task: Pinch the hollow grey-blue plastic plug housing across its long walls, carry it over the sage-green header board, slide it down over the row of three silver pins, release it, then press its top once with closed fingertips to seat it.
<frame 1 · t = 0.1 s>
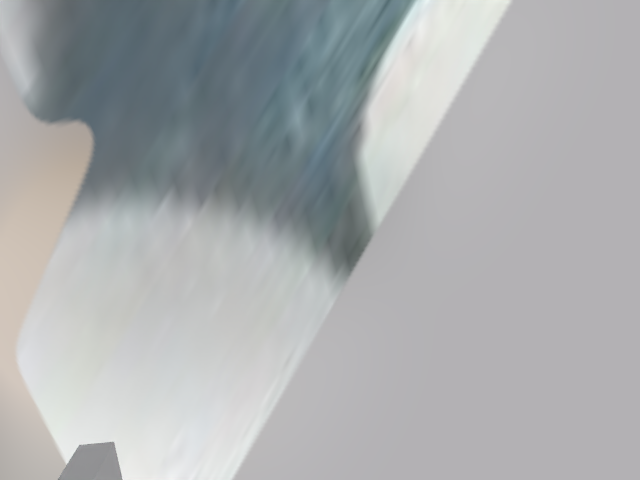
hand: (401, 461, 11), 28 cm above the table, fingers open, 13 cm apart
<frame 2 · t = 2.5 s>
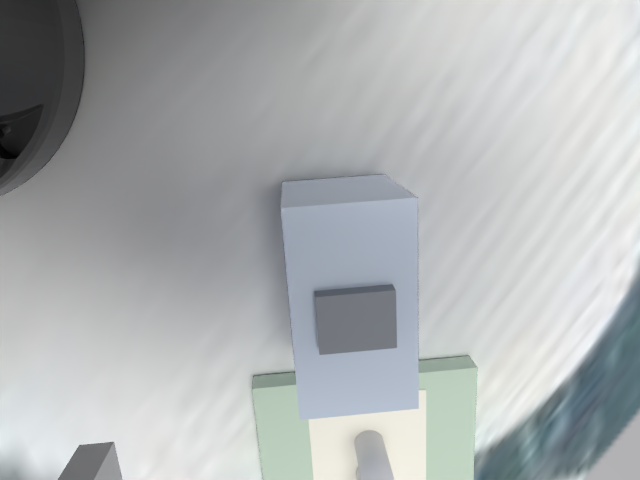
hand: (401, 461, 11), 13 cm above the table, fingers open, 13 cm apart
plug: (338, 264, 24), on the table
header: (366, 455, 27), on the table
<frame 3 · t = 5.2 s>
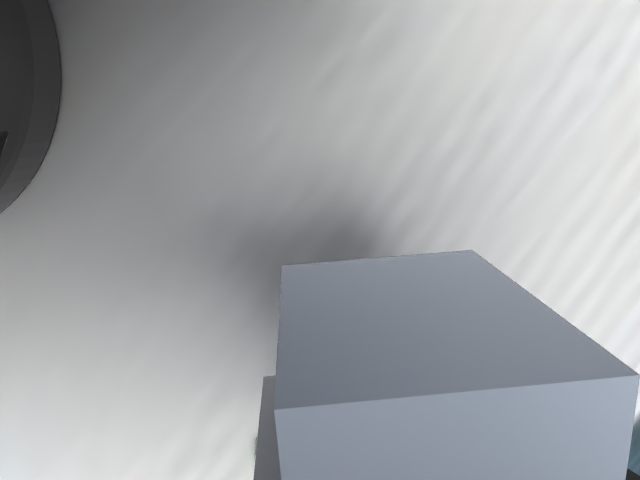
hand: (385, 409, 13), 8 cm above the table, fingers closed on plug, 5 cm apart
plug: (382, 406, 13), point 7 cm above the table, touching gripper
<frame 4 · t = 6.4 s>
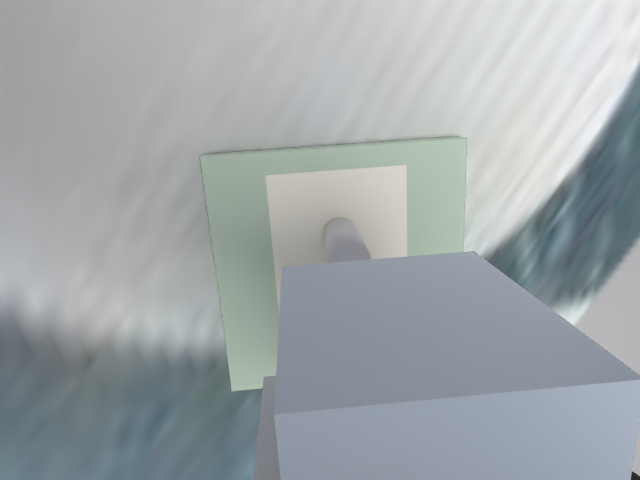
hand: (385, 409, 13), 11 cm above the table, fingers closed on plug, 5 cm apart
plug: (383, 409, 13), point 11 cm above the table, touching gripper
header: (339, 264, 23), on the table
when the fingers open (2 cm above the table, at t = 7.9 s): plug stays where it is, resting on header.
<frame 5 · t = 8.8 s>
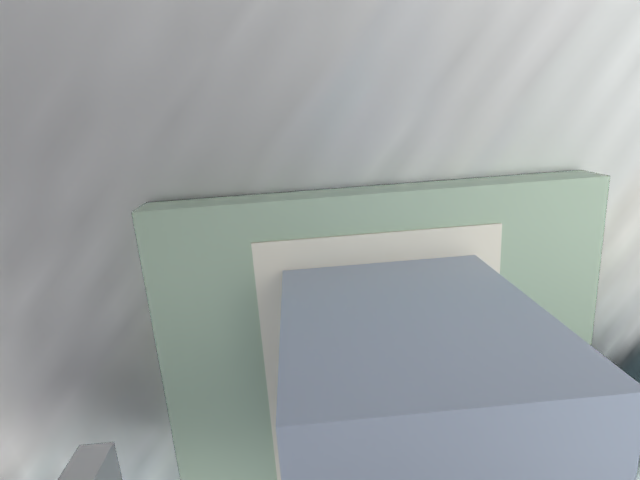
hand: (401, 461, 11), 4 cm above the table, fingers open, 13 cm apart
plug: (384, 412, 13), point 1 cm above the table, touching header
header: (375, 377, 14), on the table
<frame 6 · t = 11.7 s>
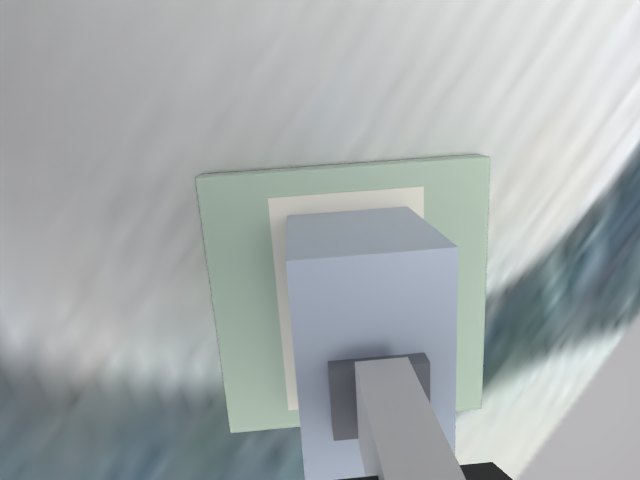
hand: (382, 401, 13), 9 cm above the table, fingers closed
plug: (352, 311, 20), point 1 cm above the table, touching header
header: (348, 293, 21), on the table
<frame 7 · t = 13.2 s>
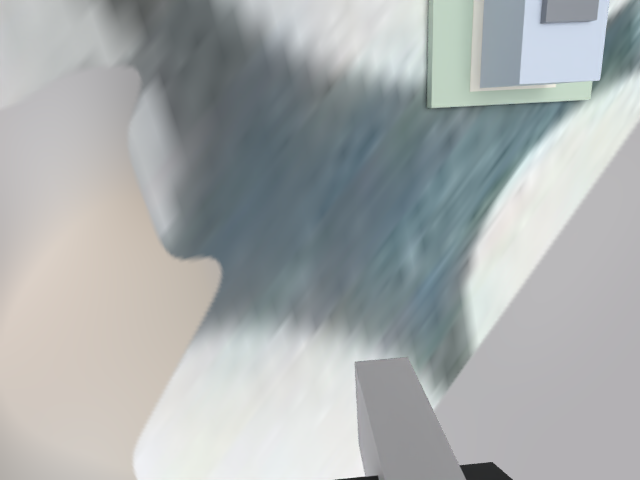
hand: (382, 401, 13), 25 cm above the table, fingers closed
plug: (518, 18, 32), point 1 cm above the table, touching header
header: (509, 17, 33), on the table
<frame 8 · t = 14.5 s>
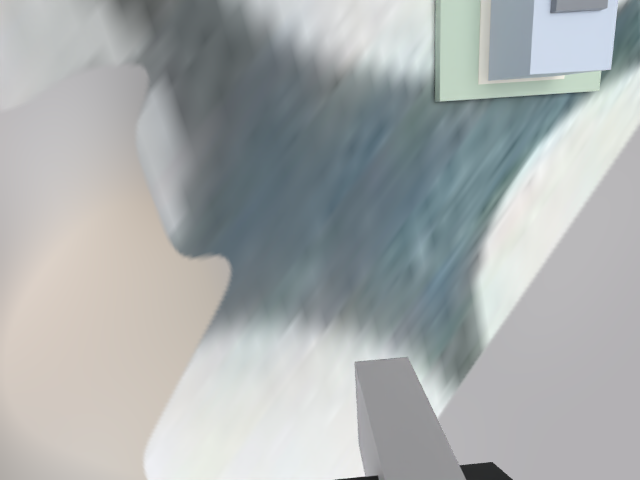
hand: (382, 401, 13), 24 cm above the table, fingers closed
plug: (525, 10, 32), point 1 cm above the table, touching header
header: (516, 10, 33), on the table
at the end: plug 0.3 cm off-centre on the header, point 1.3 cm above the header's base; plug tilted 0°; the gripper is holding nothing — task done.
